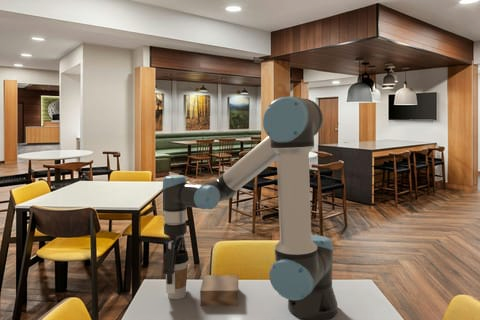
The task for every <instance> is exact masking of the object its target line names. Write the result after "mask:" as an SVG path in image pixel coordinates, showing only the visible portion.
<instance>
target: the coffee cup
mask: <svg viewBox="0 0 480 320" xmlns="http://www.w3.org/2000/svg"><path fill="white" fill-rule="evenodd" d="M165 254H166V252H164V254H163V258H162V260H163V263H164V264H165ZM188 262H189V254H188V251H187V249H186V250H179V252H178V254H177V255H176V261H175V267H174V273H175V293H167V297H168V298H169V299H171V300H180V299H182V298H184V297H185V296H186V294H187V277H188V267H189V265H188ZM164 275H165V277H166V274H164Z"/></svg>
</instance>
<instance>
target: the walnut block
mask: <svg viewBox="0 0 480 320" xmlns="http://www.w3.org/2000/svg"><path fill="white" fill-rule="evenodd" d="M201 281H202V282H201V285H200V290H199V295H200V296H199V299H200V303H199V304H200V306H202V307H205V306H207V307H209V306H212V307H213V306H214V307H216V306H217V307H219V306H220V307H221V306H222V307H224V306H226V307H228V306H229V307H231V306H232V307H233V306H235V307H236V306H239V275H238V274H233V275H232V274H231V275H229V274H225V275H224V274H220V275H216V274H212V275H211V274H209V275H207V274H206V275H203V277H202V280H201Z"/></svg>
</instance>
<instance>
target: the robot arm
mask: <svg viewBox="0 0 480 320" xmlns="http://www.w3.org/2000/svg"><path fill="white" fill-rule="evenodd" d="M323 123H324V113H323V111H322V109H321V106H320V105H319V104H317V102H315V101H314V100H311V99H308V98H301V97H296V96H289V95H288V96H282V97H278V98H276V99H274V100H273V101H272V102H270V104H269V105H268V106H267V107H266V109H265V111H264V113H263V117H262V127H263V130H264V132H265V134H266V135H267V136H266V137H265V138H264V139H263V140H261V142H260V143H258V144H257V145H256V146H255V147H253V148H252V149H251V150H250V151H249V152H247V153H246V154H245V155H244V156H243V157H241V158H240V159H239V160H237V161H236V162H235V163H234V164H233V165H232V166H230V167H229V168H228V169H227V170H225V172H224V173H222V174H221V175H220V176H219V177H217V178H216V179H214V180H209V181H206V182H201V183H190V182H189V183H188V182H187V178H186V176H184V175H180V174H173V175H170V174H169V175H166V176H164V177H163V178H162V179H163V180H162V189H161V190H162V201H163V202H162V203H163V205H162V206H163V211H162V212H161V215H163V222H164V223H163V234H164V235H165V236H166V237H167V236H168V237H169V239H168V240H167V241H166V242H165V253H166V254H165V263H164V265H163V266H164V267H163V271H162V274H163V275H165V274H166V276H165V290H166V292H165V294H168V293H175V273H174V267H175V261H176V255H177V254H178V252H179V250H186V251H187V247H186V240H185V234H187V231H188V229H187V224H188V223H187V222H186V221H187V220H188V218H187V208H189V207H190V208H194V209H200V210H213V209H216V207H217V206H218V205H219V203H220V202H223V201H227V200H229V199H232V198H233V197H235V195H236V194H237V193H238V191H239V190H240V189H241V188H243V186H245V185H246V184H247V183H249V182H251V180H253V179H254V178H255V177H257V176H258V175H260V173H262V172H263V171H264V170H265V169H267V168H268V167H270V166H271V165H272V164H273V163H274V162H276V168H277V170H276V173H277V192H278V193H277V196H278V198H277V199H278V223H279V241H278V242H277V243H276V244H275V245H274V259H275V262H273V264H271V267H270V269H269V281H270V284H271V286H272V288H273V289H274V290H275V291H276V292H277V294H278V295H279V296H281V297H282V298H285V299H286V300H287V301H288V302H287V309H288V310H289V312H290V313H291V314H292V315H294V316H295V317H297V318H298V319H299V318H300V319H303V320H331V319H333V318H335V316H337V314H338V300H337V298H336V295H335V291H334V287H333V265H334V262H333V261H334V260H333V258H334V248H333V245H334V244H333V243H334V242H333V241H332V240H331V239H330V238H329V237H325V236H322V235H315V234H312V217H311V216H312V215H311V187H310V186H311V185H310V182H311V181H310V159H309V158H310V157H309V154H310V152H311V151H312V150H313V149H314V148H315V136H316V135H317V134H318V133H319V132H320V130H321V129H322V126H323Z"/></svg>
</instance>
